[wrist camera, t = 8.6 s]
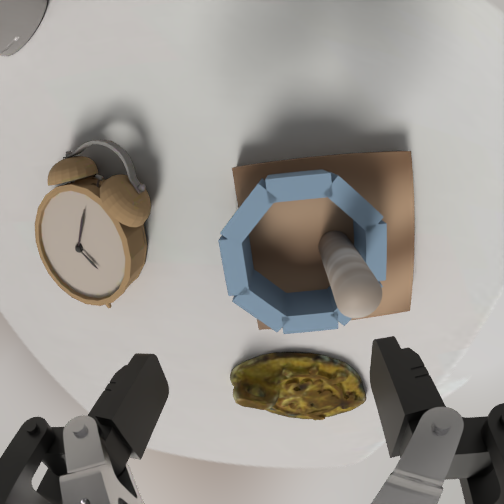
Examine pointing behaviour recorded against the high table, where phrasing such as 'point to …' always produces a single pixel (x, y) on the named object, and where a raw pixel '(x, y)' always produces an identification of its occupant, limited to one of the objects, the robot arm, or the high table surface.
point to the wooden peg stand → (337, 232)
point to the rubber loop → (268, 294)
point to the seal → (297, 385)
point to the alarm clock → (93, 227)
